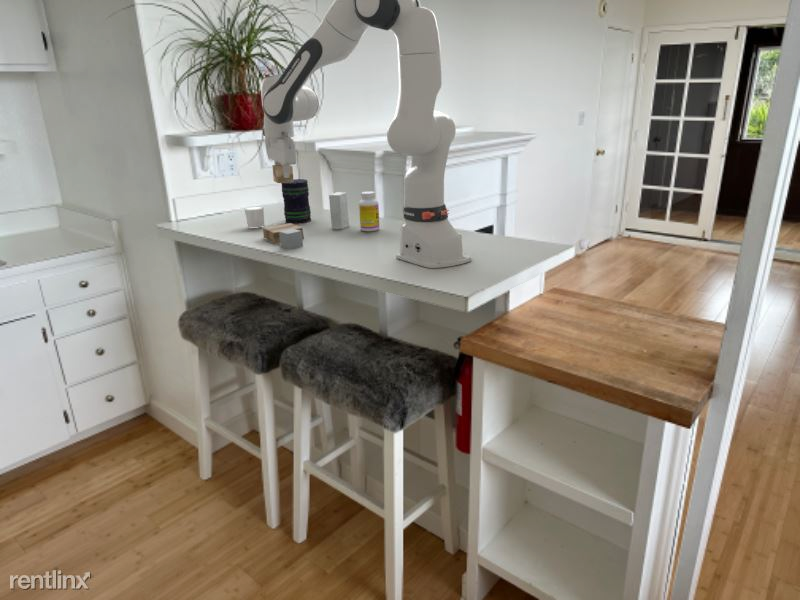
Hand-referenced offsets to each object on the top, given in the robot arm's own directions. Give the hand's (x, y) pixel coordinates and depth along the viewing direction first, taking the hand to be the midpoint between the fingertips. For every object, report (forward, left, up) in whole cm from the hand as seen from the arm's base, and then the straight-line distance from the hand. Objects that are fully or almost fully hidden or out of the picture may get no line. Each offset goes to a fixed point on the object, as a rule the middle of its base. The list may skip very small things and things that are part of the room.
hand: (283, 176), depth 180 cm
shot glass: (+26, +5, -21) cm, 33 cm away
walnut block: (+2, +2, -21) cm, 21 cm away
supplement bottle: (-4, -27, -21) cm, 35 cm away
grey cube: (-10, +3, -21) cm, 23 cm away
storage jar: (+26, -11, -21) cm, 35 cm away
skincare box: (+6, -20, -21) cm, 30 cm away
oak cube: (0, 0, -2) cm, 2 cm away
